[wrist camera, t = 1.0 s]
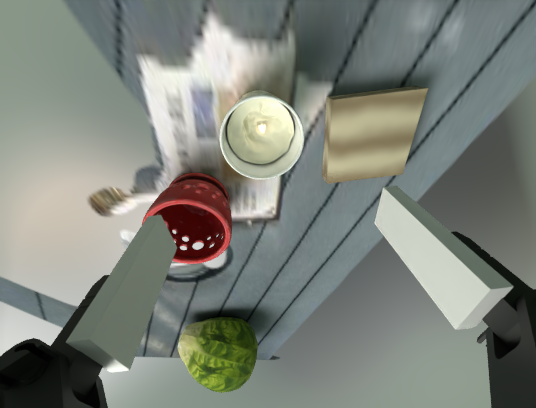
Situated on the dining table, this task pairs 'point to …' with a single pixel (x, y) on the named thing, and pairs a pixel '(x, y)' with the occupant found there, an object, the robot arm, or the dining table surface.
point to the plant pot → (195, 216)
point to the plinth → (370, 133)
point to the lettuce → (219, 352)
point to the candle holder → (261, 136)
